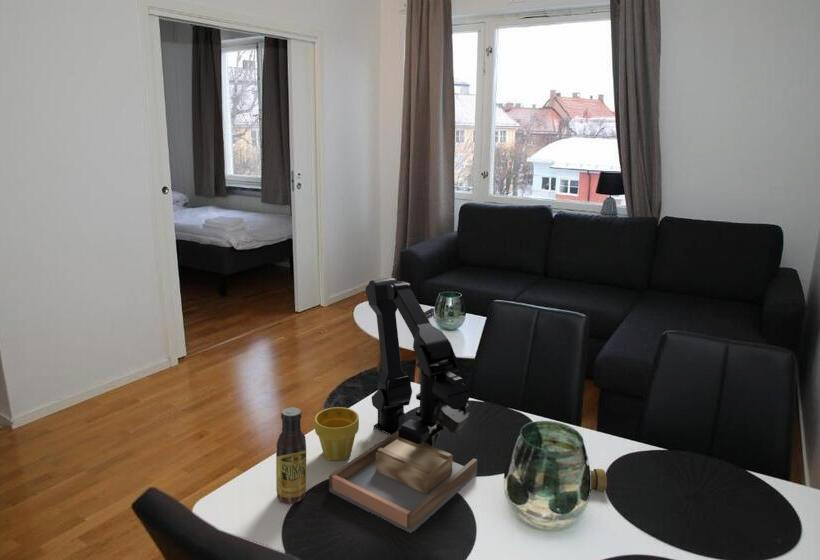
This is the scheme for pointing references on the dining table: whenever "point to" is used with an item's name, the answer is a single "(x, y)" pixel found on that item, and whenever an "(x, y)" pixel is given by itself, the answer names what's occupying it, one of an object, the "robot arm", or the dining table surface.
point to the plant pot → (336, 431)
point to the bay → (395, 489)
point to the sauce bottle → (291, 458)
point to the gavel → (598, 479)
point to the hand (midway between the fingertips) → (430, 451)
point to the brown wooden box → (414, 464)
